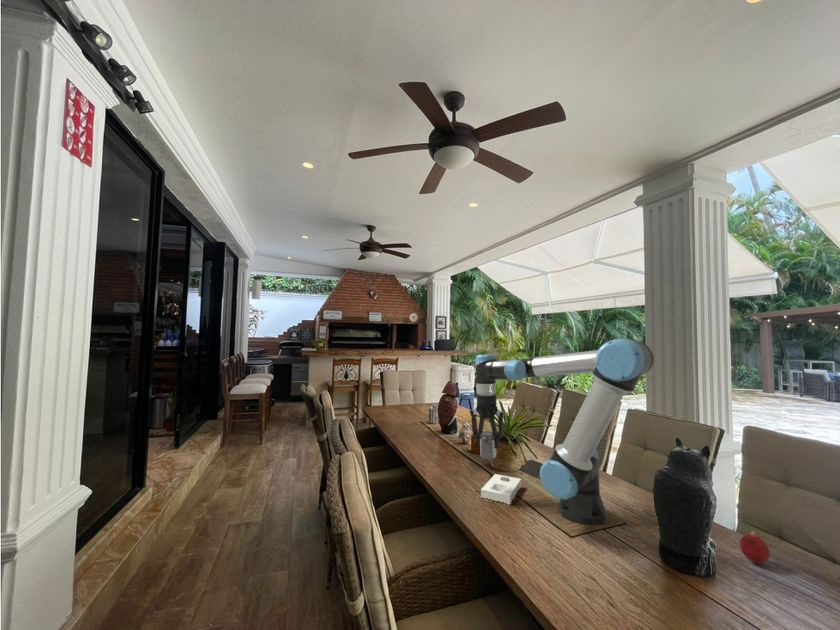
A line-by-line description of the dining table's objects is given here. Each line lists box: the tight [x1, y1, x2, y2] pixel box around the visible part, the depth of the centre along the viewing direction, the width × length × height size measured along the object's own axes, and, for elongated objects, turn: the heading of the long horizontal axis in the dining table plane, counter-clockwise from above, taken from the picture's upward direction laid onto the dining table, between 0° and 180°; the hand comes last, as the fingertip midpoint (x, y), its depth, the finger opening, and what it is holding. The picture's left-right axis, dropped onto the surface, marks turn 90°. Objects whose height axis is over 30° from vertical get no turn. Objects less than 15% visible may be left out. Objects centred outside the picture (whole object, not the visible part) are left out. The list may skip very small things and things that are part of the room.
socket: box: [480, 473, 522, 504], centre depth 137 cm, size 11×18×4 cm, turn 151°
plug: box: [480, 430, 494, 460], centre depth 132 cm, size 4×7×9 cm, turn 153°
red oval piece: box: [739, 531, 771, 565], centre depth 94 cm, size 6×6×8 cm
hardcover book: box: [518, 459, 544, 480], centre depth 158 cm, size 16×23×2 cm
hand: (488, 456), depth 133 cm, fingers closed on plug, 4 cm apart
